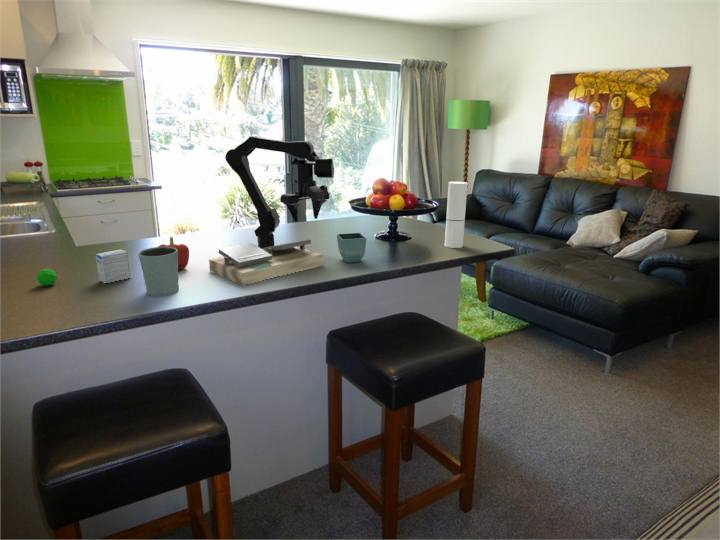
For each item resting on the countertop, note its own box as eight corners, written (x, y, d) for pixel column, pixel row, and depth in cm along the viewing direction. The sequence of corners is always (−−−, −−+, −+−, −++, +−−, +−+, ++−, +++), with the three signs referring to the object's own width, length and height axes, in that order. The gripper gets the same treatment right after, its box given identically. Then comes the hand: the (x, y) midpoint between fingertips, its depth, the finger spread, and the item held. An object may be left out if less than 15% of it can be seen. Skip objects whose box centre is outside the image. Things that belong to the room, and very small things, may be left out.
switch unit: (210, 271, 158) (208, 251, 156) (287, 254, 179) (286, 236, 177) (243, 285, 144) (241, 264, 142) (322, 265, 165) (322, 246, 163)
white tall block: (461, 243, 197) (466, 181, 190) (463, 248, 190) (468, 183, 183) (443, 243, 198) (447, 181, 190) (445, 247, 191) (449, 183, 183)
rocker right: (262, 252, 166) (261, 247, 165) (291, 246, 174) (290, 242, 174) (282, 249, 157) (281, 244, 157) (311, 243, 165) (310, 238, 165)
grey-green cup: (186, 285, 144) (182, 246, 140) (174, 297, 134) (170, 255, 131) (151, 285, 143) (146, 246, 140) (137, 297, 134) (132, 255, 130)
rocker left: (218, 253, 154) (218, 248, 154) (251, 246, 162) (251, 242, 162) (239, 266, 147) (239, 262, 146) (272, 259, 155) (272, 254, 154)
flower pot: (342, 264, 166) (342, 239, 164) (336, 258, 175) (336, 233, 172) (366, 263, 169) (367, 238, 166) (359, 256, 177) (360, 232, 174)
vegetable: (157, 266, 163) (154, 236, 160) (190, 263, 166) (187, 234, 163) (156, 275, 153) (153, 244, 150) (191, 272, 157) (188, 242, 154)
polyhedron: (36, 285, 143) (33, 269, 142) (55, 281, 146) (53, 266, 145) (40, 289, 140) (37, 273, 138) (60, 285, 143) (57, 270, 141)
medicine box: (124, 275, 153) (121, 249, 150) (131, 278, 150) (128, 251, 147) (98, 281, 147) (94, 253, 144) (105, 284, 144) (101, 256, 141)
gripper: (298, 181, 163) (299, 227, 167) (339, 177, 175) (339, 220, 180) (278, 178, 170) (280, 222, 175) (319, 174, 183) (320, 215, 187)
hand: (306, 220), depth 179 cm, fingers open, 9 cm apart
